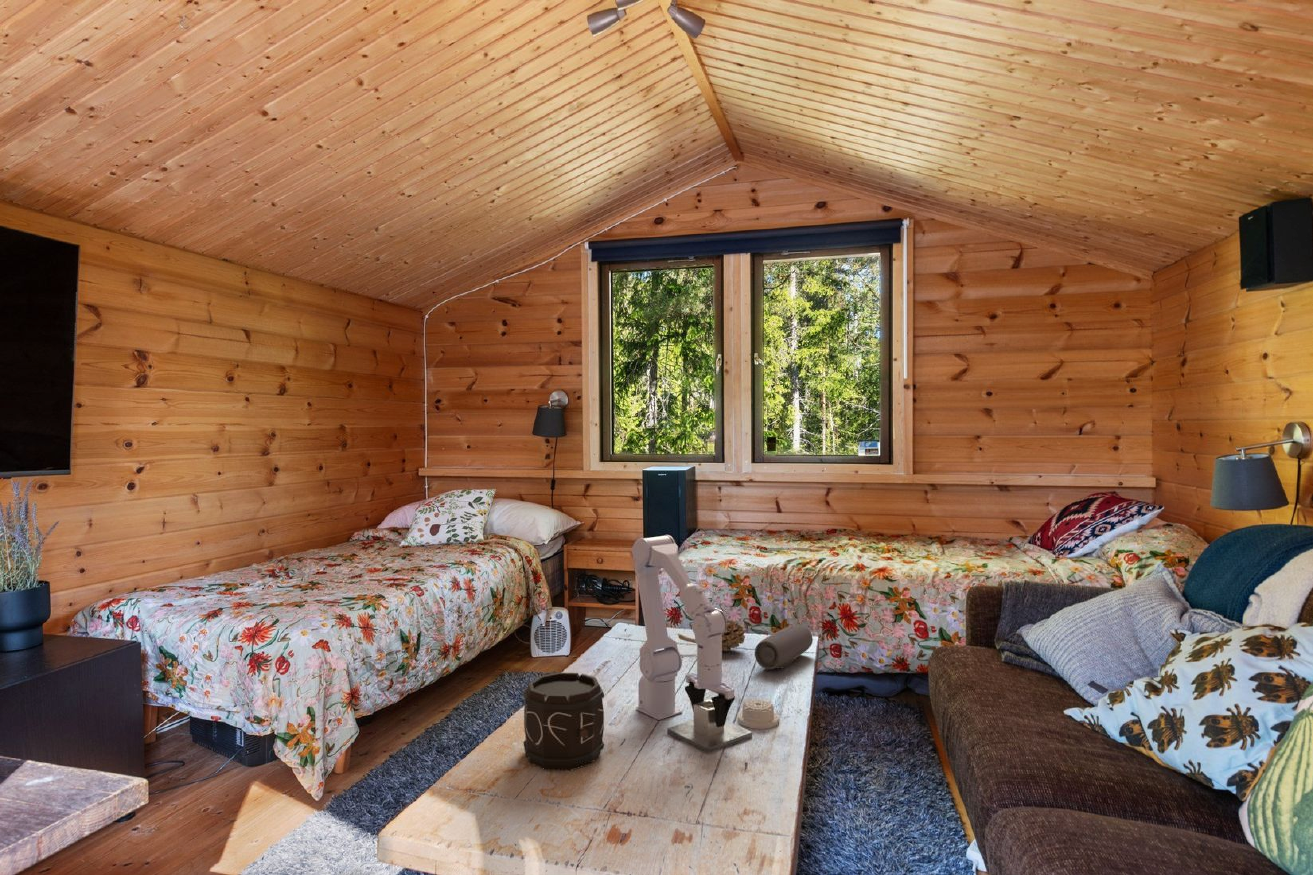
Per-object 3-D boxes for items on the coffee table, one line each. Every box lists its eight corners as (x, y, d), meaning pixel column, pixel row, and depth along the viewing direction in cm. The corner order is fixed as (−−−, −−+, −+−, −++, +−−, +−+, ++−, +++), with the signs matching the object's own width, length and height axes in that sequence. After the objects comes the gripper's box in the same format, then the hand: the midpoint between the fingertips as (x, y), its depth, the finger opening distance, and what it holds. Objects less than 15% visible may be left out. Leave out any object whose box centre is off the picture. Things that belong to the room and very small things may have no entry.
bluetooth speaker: (786, 651, 243) (787, 620, 243) (814, 656, 238) (814, 624, 237) (752, 670, 225) (752, 636, 224) (781, 676, 219) (781, 641, 219)
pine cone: (741, 646, 249) (741, 615, 248) (749, 654, 239) (749, 623, 239) (674, 648, 245) (674, 618, 245) (679, 658, 236) (679, 626, 236)
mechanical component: (735, 728, 183) (778, 731, 181) (736, 710, 183) (778, 713, 181) (739, 712, 193) (779, 715, 191) (739, 695, 192) (779, 698, 191)
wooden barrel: (543, 782, 155) (543, 705, 155) (510, 749, 170) (510, 679, 170) (620, 761, 165) (620, 688, 164) (582, 732, 180) (582, 665, 180)
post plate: (667, 733, 179) (667, 715, 179) (711, 718, 188) (711, 701, 188) (707, 753, 168) (707, 734, 168) (752, 737, 177) (752, 719, 177)
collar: (693, 729, 178) (693, 704, 178) (709, 724, 181) (709, 699, 181) (708, 736, 174) (708, 710, 174) (723, 730, 178) (724, 705, 177)
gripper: (676, 658, 181) (676, 715, 181) (718, 674, 170) (718, 735, 170) (698, 652, 185) (698, 708, 186) (740, 667, 174) (740, 727, 174)
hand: (709, 720), depth 178 cm, fingers open, 7 cm apart
